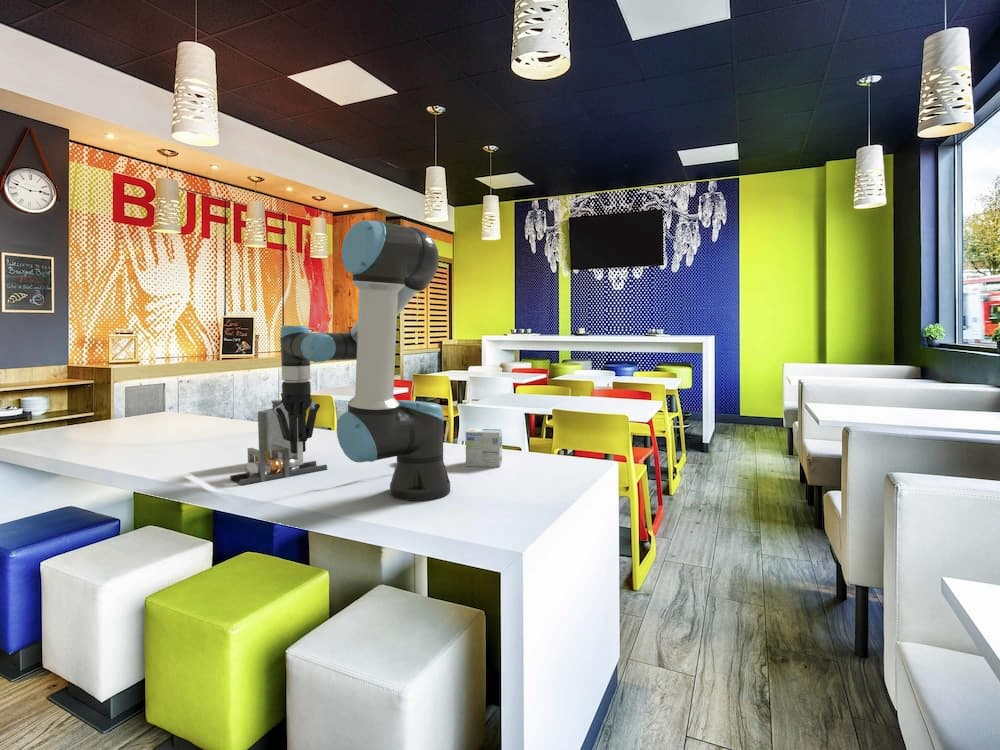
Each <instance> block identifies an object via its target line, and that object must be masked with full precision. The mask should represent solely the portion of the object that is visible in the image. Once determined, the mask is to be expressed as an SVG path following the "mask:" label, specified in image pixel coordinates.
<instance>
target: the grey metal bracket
mask: <svg viewBox="0 0 1000 750" xmlns="http://www.w3.org/2000/svg"><path fill="white" fill-rule="evenodd" d="M246 449H247V463H252V462H255V458H254V455H255V456H257V457H258V471H259V477H260V483H265V482H267V481H266V479H265V452H262V451H260V450H259V449H257V448H254V447H247V448H246ZM278 452H281V453H282V462H283V473H284V477H287V478H290V477H289V449H288V448H285V447H282V446H279V445H276V444H274V445H271V455H272V458H274V459H277V458H278ZM264 481H265V482H264Z"/></svg>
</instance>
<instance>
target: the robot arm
mask: <svg viewBox="0 0 1000 750" xmlns="http://www.w3.org/2000/svg"><path fill="white" fill-rule="evenodd" d="M341 248H342V249H341V260H342V261H341V262H342V263H343V267H344V269H345V270H346V271H347V272H348V273H350V274H351V275H352V276H351V277H352V279H351V280H352V281H351V282H352V284H353V285H354V286H355V288H357V290H358V303H357V304H358V308H357V321H356V322H355V323H354V324H353V325H352V327H351V328H350V329H349V331H348V332H310V328H309V327H308V326H307V325H283V326H281V328H280V337H279V338H280V339H279V341H280V356H281V380H283V382H282V383H281V394H282V399H281V400H282V401H281V404H280V405H279V406H278V407H274V408H273V407H272V408H273V411H274V412H275V414H276V415H277V418H278V421H279V425H280V428H281V432H282V435H283V439H284V440H287V441H290V444H291V453H293V454H294V456H296V457H297V458H298V460H299V465H303V463H304V453H305V452H306V449H307V448H306V446H307V445H306V444H307V443H306V442H307V441H308V439H311V438H313V433H314V428H315V422H316V418H317V413H318V411H319V409H320V407H321V405H320V404H319V403H316V402H314V401H313V398H312V397H311V394H312V393H311V392H312V390H311V381H310V380H311V362H313V363H323V362H328V361H329V362H330V361H332V362H333V361H352V360H353V361H355V360H356V362H355V363H356V364H355V365H356V367H355V391H354V393H355V395H354V396H353V397H352V398H351V399H350V400H348V403H347V404H348V405H347V412H346V411H345V412H344V413H342V414H341V415H340V416H339V417H338V419H337V422H336V437H337V440H338V443H339V446H340V448H341V450H342V452H343V454H344V455H345V456H346V457H347V459H349V460H351V461H352V462H355V463H358V464H359V463H366V462H371V463H373V462H376V461H378V460H385V459H389V458H395V457H396V462H395V463H396V464H395V467H394V471H393V474H392V476H391V477H392V478H391V481H390V483H389V494H390V496H391V497H393V498H396V499H398V500H399V499H400V500H405V501H428V500H435V499H439V498H443V497H445V496H448V495H449V494H450V493H451V481H450V478H449V476H448V471H447V468H446V466H445V462H444V422H445V420H444V412H443V407H442V406H441V405H440V404H439V403H435V402H429V401H421V400H420V401H419V400H417V401H416V400H406V399H404V400H403V399H401V400H397V399H396V397H394V390H395V389H394V386H395V370H396V369H395V368H396V367H395V364H396V342H397V323H398V322H397V320H398V316H399V315H400V314H401V312H402V311H403V310H404V309H405V307H406V306H407V305H408V303H409V302H410V301H411V300H412V298H413V297H414V296H415V295H416V294H417V293H418V292H423V291H424V290H426V288H427V287H428V286H429V285H430V283H431V282H432V281H433V279H434V277H435V275H436V274H437V271H438V266H439V264H440V263H439V262H440V261H439V260H440V258H439V257H440V255H439V250H438V247H437V245H436V242H435V240H434V239H433V238H432V236H430V235H429V233H427V232H426V231H425V230H423V229H421V228H419V227H414V226H405V225H401V224H397V223H391V222H385V221H380V220H365V219H364V220H359V221H358V222H355V223H354V224H353V225H352V226H351V227H350V229H349V231H347V233H346V235H345V238H344V239H343V242H342V246H341ZM284 408H285V409H286V411H287V412H288V417H289V428H288V425H287V421H286V417H285V414H284V413H283V412H284ZM307 411H308V414H307ZM297 417H298V439H299V440H298V439H297Z"/></svg>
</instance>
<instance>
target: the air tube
mask: <svg viewBox="0 0 1000 750" xmlns="http://www.w3.org/2000/svg"><path fill="white" fill-rule="evenodd" d="M298 469H299V460H298V458H297V457H296V456H290V457H289V471H292V470H298ZM281 472H283V462H282V458H277V459H274V458H270V460H265V475H270V474H276V473H281ZM244 473H246V476H247V478H254V477H259V471H258V462H255V461H254V462H252V463H248V462H247V463H246V464H245V472H244Z"/></svg>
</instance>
